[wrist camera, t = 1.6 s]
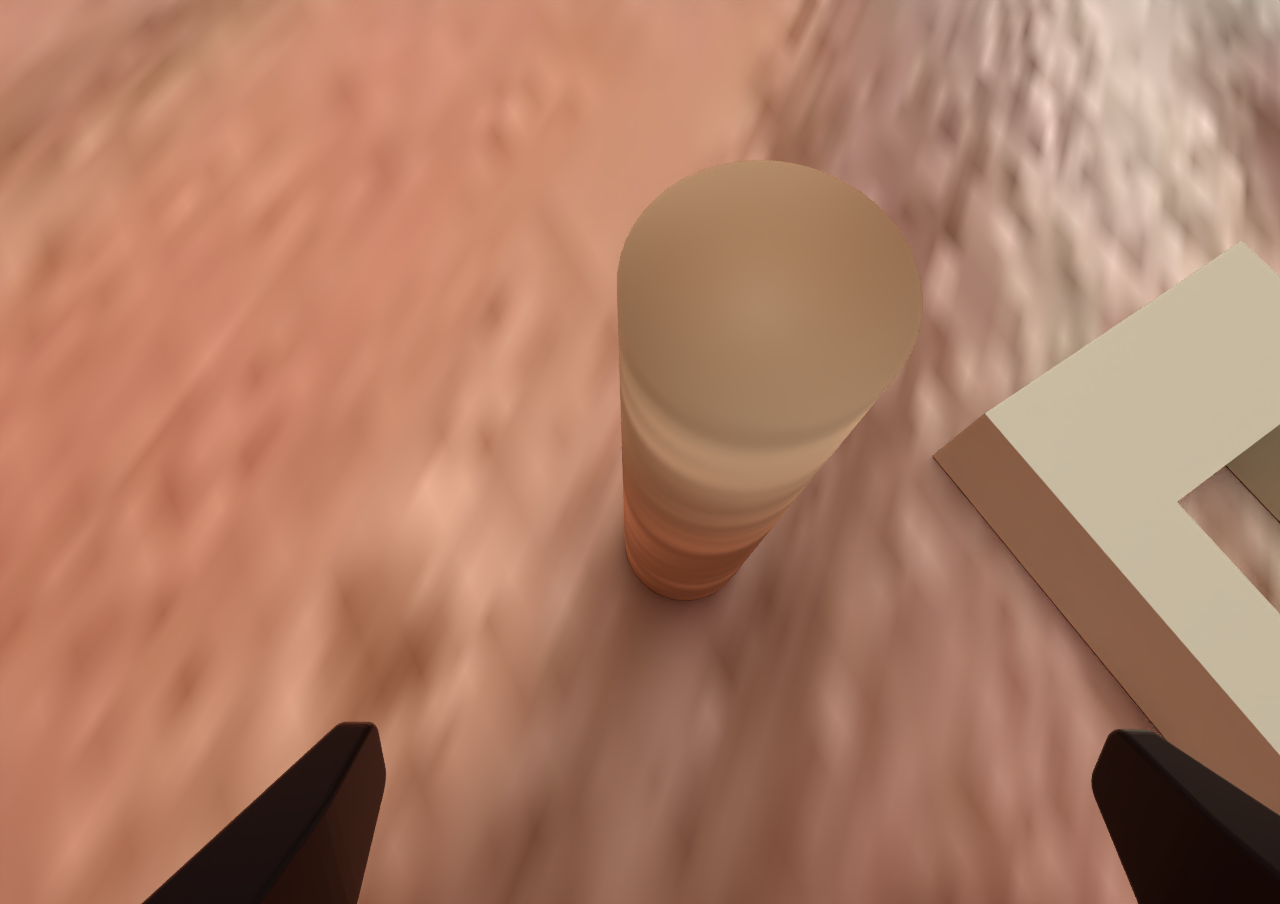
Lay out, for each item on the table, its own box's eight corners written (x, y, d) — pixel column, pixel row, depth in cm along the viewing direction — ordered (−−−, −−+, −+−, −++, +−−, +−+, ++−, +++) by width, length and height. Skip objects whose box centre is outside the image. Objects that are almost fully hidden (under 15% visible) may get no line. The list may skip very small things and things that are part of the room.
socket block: (1520, 665, 21) (1690, 659, 17) (1285, 885, 19) (1426, 925, 15) (1158, 303, 24) (1241, 240, 21) (932, 455, 22) (984, 413, 19)
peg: (765, 557, 21) (987, 325, 8) (667, 624, 21) (733, 487, 7) (698, 463, 22) (798, 117, 9) (602, 523, 22) (560, 245, 8)
